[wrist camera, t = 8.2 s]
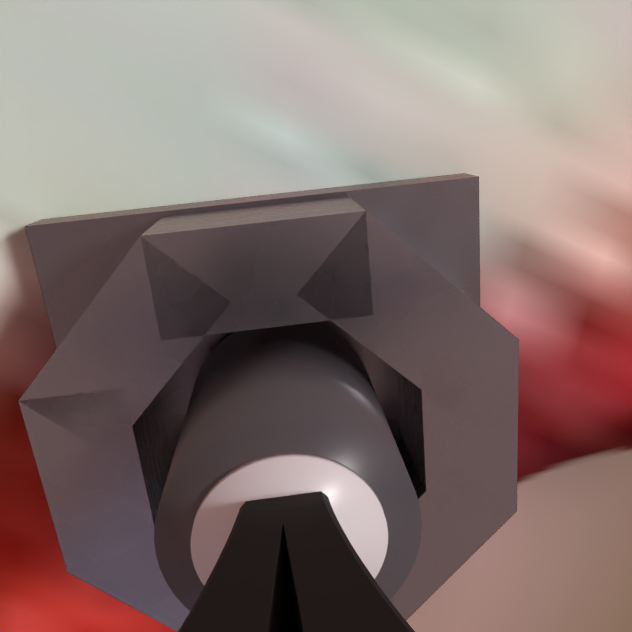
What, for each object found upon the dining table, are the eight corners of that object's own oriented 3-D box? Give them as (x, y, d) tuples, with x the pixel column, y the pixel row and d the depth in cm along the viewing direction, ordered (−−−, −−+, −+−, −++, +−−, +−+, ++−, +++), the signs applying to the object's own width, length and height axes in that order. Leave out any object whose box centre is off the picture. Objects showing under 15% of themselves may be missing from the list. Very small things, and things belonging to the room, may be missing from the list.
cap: (206, 490, 15) (176, 666, 10) (179, 329, 14) (128, 440, 9) (376, 470, 15) (428, 633, 10) (366, 308, 14) (419, 407, 9)
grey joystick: (127, 568, 17) (93, 677, 13) (41, 219, 14) (-31, 248, 10) (470, 521, 17) (519, 616, 14) (464, 173, 14) (525, 187, 11)
